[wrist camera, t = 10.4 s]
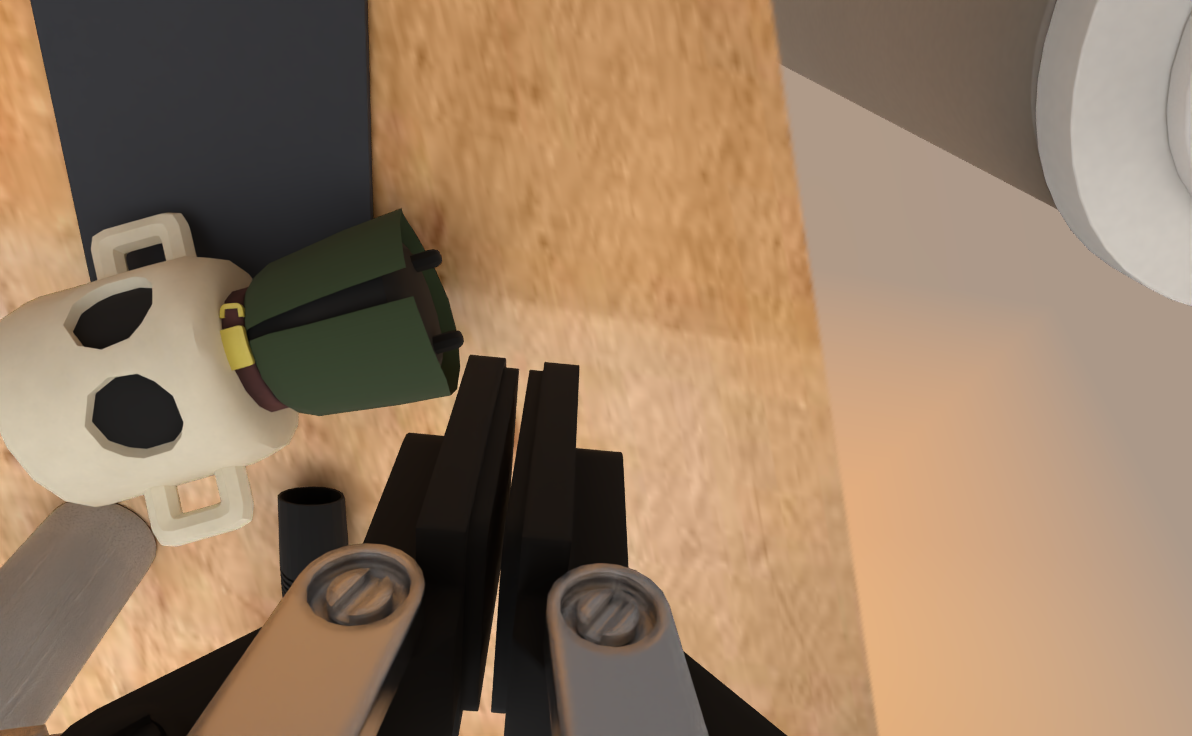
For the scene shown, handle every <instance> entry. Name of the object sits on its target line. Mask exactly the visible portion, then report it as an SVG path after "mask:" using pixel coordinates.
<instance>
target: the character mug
mask: <svg viewBox="0 0 1192 736" xmlns="http://www.w3.org/2000/svg"><path fill="white" fill-rule="evenodd" d="M160 243H162V244H163V249H164V253H165V258H166V261H164V262H160V263H156V264H152V265H148V266H145V267H141V268H138V269H134V270H131V271H129V269H128V265H127V260H126V256H127V254H128V253H129V252H131V251H135V250H138V249H142V248H146V247H149V246H153V245H156V244H160ZM91 252H92V257H93V262H94V266H95V271H96V275H97V281H93V282H90V283H87V284H83V285H80V286H77V287H74V288H70V289H66V290H63V291H59V292H55V293H52V294H48V295H44V296H41V297H38V298H36V299H34V300H31V301H29V302H27V303H25V304H23V305H22V306H20V307H19V308H17V309H16V310H14V311H13V312H11V313H10V314H8V315H7V316H6V317H4V318H3V319H1V320H0V434H1V436H2V438H3V440H4V442H5V444H6V446H7V448H8V449H9V450H10V452H11V453H12V454H13V455H14V457H15V458H16V459H17V460H18V462H19V463H20V464H21V465H22V467H23V468H24V469H25V470H26V472H27V473H28V474H29V475H30V477H31V478H32V479H33V480H34V481H36V482H37V483H39V484H40V485H42V486H43V487H45V488H46V489H48V490H49V491H50V492H52V493H53V494H55V495H56V496H58V497H59V498H61V499H62V500H64V501H66V502H72V503H77V504H82V505H87V506H93V507H99V506H104V505H110V504H114V503H117V502H121V501H124V500H128V499H131V498H135V497H138V496H142V495H144V496H145V501H146V505H147V510H148V515H149V519H150V524H151V528H152V532H153V533H154V535H155V536H156V538H157V540H158V541H159V543H160V544H161V545H162V546H180V545H184V544H187V543H191V542H194V541H198V540H201V539H205V538H209V537H212V536H216V535H219V534H223V533H226V532H230V531H233V530H237V529H240V528H241V527H243V526H244V525H246V524H247V523H249V522H250V521H252V518H253V508H254V501H253V497H252V493H251V488H250V484H249V480H248V475H247V471H246V467H245V466H247V465H251V464H254V463H257V462H259V461H261V460H263V459H265V458H267V457H269V456H271V455H272V454H274V453H276V452H277V451H279V450H280V449H282V448H283V447H285V446H287V445H288V444H289V443H290V441H291V439H292V437H293V435H294V433H295V431H296V429H297V427H298V418H299V413H305V414H311V415H317V416H323V415H330V414H337V413H344V412H351V411H358V410H365V409H373V408H380V407H387V406H395V405H401V404H406V403H412V402H417V401H423V400H428V399H433V398H439V397H444V396H450V395H452V394H453V393H454V392H455V391H456V390H457V385H458V378H459V371H460V359H459V347H461V346H462V345H463V342H464V340H463V336H462V334H461V332H460V331H457V330H456V327H455V323H454V319H453V316H452V312H451V308H450V304H449V301H448V298H447V296H446V293H445V291H444V289H443V286H442V284H441V282H440V280H439V277H438V275H437V273H436V271H435V267H437V266H439V265H440V264H441V263H442V257H441V254H440V252H439V251H438V250H435V249H432V250H427V251H425V250H424V248H423V246H422V244H421V242H420V241H419V239H418V237H417V235H416V234H415V232H414V231H413V229H412V227H411V226H410V224H409V223H408V221H407V220H406V218H405V216H404V215H403V212H402V208H401V209H398V210H396V211H393V212H391V213H388V214H385V215H383V216H380V217H377V218H375V219H372V220H369V221H367V222H364V223H361V224H359V225H356V226H353V227H351V228H348V229H345V230H343V231H341V232H338V233H336V234H334V235H332V236H329V237H327V238H325V239H323V240H321V241H318V242H316V243H314V244H312V245H309V246H307V247H305V248H303V249H300V250H298V251H296V252H294V253H291V254H289V255H287V256H285V257H282V258H280V259H278V260H276V261H273V262H271V263H269V264H268V265H267V266H266V267H265V268H264V269H262V270H261V271H260V272H259V273H258V274H257V275H256V276H255V277H254V278H253V279H252V278H251V276H250V275H249V274H248V273H247V272H245V271H244V270H242V269H241V268H240V267H238V266H237V265H235V264H234V263H232V262H231V261H230V260H222V259H214V258H204V257H197V256H196V251H195V247H194V243H193V239H192V234H191V230H190V227H189V224H188V223H187V221H186V220H185V218H184V217H183V215H182V214H181V213H162V214H158V215H154V216H151V217H147V218H144V219H140V220H137V221H133V222H129V223H126V224H122V225H119V226H115V227H112V228H108V229H105V230H103V231H101V232H99V233H98V234H96V235H95V236H93V237H92V245H91ZM212 475H215V477H216V481H217V486H218V490H219V494H220V499H221V502H220V503H219V504H215V505H212V506H208V507H205V508H201V509H198V510H194V511H191V512H187V513H183V512H182V508H181V503H180V499H179V494H178V489H177V485H181V484H184V483H188V482H191V481H195V480H198V479H202V478H205V477H209V476H212Z"/></svg>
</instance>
